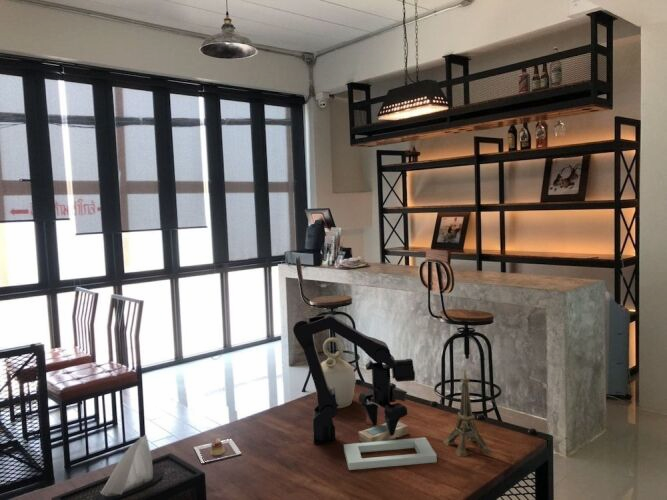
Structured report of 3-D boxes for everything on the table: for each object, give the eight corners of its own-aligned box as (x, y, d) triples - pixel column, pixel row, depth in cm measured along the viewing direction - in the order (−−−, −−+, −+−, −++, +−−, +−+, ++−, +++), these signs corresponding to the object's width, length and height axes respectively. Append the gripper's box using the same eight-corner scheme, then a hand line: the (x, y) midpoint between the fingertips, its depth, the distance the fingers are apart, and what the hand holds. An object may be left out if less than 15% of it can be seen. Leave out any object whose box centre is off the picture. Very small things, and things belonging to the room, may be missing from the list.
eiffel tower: (442, 442, 165) (440, 362, 163) (473, 436, 168) (471, 358, 166) (459, 457, 155) (456, 372, 153) (492, 451, 157) (490, 367, 155)
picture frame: (370, 447, 164) (369, 437, 164) (358, 441, 169) (358, 431, 169) (408, 434, 172) (407, 425, 172) (396, 428, 177) (395, 419, 177)
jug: (342, 413, 191) (339, 344, 189) (307, 406, 200) (303, 340, 198) (364, 399, 204) (361, 334, 202) (329, 393, 212) (326, 330, 210)
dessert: (201, 466, 157) (200, 450, 157) (193, 450, 168) (192, 435, 168) (241, 456, 162) (241, 441, 162) (231, 441, 173) (230, 427, 173)
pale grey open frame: (348, 470, 150) (348, 463, 150) (344, 450, 162) (343, 444, 162) (436, 462, 152) (436, 455, 152) (425, 443, 164) (425, 437, 164)
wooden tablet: (396, 427, 179) (396, 422, 178) (366, 428, 179) (366, 423, 179) (393, 398, 205) (393, 394, 205) (367, 399, 206) (367, 394, 206)
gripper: (420, 384, 165) (422, 434, 166) (384, 370, 181) (386, 415, 182) (391, 392, 160) (393, 443, 161) (356, 376, 176) (359, 423, 177)
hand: (383, 430), depth 170 cm, fingers open, 9 cm apart
